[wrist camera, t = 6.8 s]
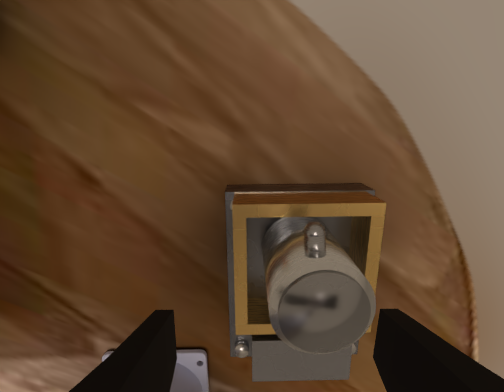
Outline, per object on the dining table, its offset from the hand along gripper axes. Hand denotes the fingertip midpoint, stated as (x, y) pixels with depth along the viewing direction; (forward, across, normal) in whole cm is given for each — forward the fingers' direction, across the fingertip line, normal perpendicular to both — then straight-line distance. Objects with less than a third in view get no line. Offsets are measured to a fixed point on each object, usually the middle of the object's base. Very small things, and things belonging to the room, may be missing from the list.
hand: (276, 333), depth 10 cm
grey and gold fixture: (+10, -2, +3) cm, 11 cm away
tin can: (+8, -2, 0) cm, 8 cm away
